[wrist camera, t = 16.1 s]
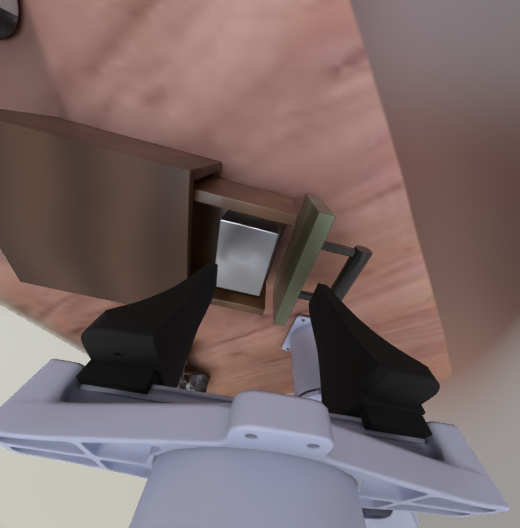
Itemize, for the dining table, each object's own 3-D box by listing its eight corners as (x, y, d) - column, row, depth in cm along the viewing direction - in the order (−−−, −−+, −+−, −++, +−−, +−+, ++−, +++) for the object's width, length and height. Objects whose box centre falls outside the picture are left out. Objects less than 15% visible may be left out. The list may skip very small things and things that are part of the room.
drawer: (366, 209, 17) (402, 233, 12) (318, 296, 23) (330, 335, 18) (171, 157, 16) (127, 161, 11) (174, 263, 22) (145, 296, 17)
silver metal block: (231, 204, 17) (220, 219, 13) (278, 216, 17) (278, 233, 14) (222, 262, 20) (212, 286, 17) (261, 271, 20) (259, 296, 17)
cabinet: (221, 162, 17) (189, 170, 10) (209, 271, 23) (186, 316, 17) (54, 116, 16) (-92, 95, 9) (91, 244, 22) (19, 281, 16)
